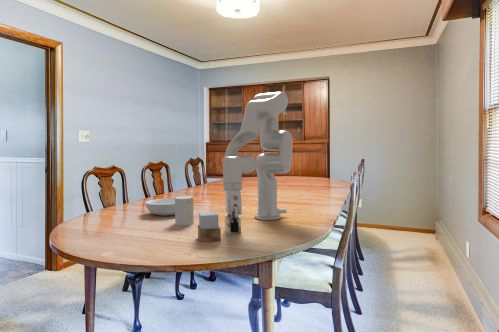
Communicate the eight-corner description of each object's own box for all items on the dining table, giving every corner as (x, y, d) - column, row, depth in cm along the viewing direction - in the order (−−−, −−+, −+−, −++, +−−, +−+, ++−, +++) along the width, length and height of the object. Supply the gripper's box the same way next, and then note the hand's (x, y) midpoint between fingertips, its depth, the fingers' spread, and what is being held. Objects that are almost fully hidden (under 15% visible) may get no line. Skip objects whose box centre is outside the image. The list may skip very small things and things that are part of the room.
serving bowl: (195, 212, 171) (195, 199, 171) (165, 220, 153) (165, 206, 153) (168, 208, 182) (167, 196, 182) (137, 215, 165) (136, 202, 164)
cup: (189, 226, 142) (189, 199, 141) (172, 225, 144) (171, 198, 143) (196, 221, 150) (195, 196, 149) (179, 221, 152) (179, 195, 151)
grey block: (216, 224, 125) (215, 211, 125) (218, 228, 119) (218, 214, 119) (199, 225, 124) (199, 212, 124) (200, 229, 118) (200, 215, 117)
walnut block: (217, 236, 126) (217, 223, 126) (220, 241, 119) (220, 228, 119) (198, 237, 124) (197, 225, 124) (200, 243, 117) (200, 229, 117)
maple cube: (237, 229, 136) (237, 215, 136) (241, 232, 131) (240, 218, 130) (225, 230, 134) (224, 216, 134) (227, 233, 129) (227, 219, 129)
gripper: (247, 188, 124) (247, 234, 125) (236, 183, 141) (236, 224, 142) (227, 189, 122) (228, 236, 123) (219, 184, 139) (219, 225, 140)
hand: (232, 229), depth 132 cm, fingers closed on maple cube, 5 cm apart
